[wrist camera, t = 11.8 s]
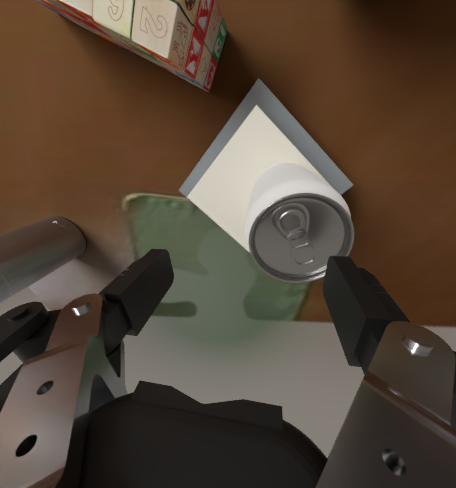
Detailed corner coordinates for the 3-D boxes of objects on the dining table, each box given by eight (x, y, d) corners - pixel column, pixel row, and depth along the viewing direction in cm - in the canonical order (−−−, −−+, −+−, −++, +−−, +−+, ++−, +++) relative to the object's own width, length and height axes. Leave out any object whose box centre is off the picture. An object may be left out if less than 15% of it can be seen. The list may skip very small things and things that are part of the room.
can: (302, 149, 19) (349, 159, 9) (320, 207, 21) (374, 272, 11) (243, 178, 21) (222, 214, 11) (264, 228, 23) (265, 298, 13)
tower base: (259, 248, 34) (256, 275, 27) (188, 184, 31) (165, 197, 24) (342, 179, 27) (368, 192, 20) (260, 86, 24) (256, 65, 17)
